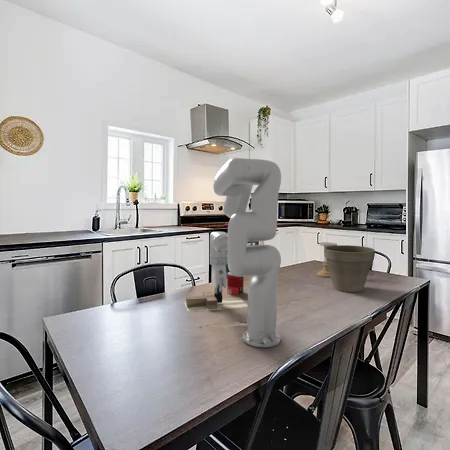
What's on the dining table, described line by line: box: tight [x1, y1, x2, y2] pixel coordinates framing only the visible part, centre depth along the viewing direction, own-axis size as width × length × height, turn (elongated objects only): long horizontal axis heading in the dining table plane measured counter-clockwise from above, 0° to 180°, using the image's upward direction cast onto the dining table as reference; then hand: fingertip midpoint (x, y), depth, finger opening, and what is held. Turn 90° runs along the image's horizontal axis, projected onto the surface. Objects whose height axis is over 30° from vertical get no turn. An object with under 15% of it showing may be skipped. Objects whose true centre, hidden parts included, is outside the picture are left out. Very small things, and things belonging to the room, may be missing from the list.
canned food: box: [226, 271, 245, 296], centre depth 155 cm, size 8×8×11 cm
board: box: [183, 297, 248, 313], centre depth 137 cm, size 14×26×1 cm, turn 104°
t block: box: [185, 292, 217, 309], centre depth 136 cm, size 12×12×4 cm
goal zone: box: [184, 303, 223, 312], centre depth 136 cm, size 14×14×1 cm
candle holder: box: [316, 241, 338, 279], centre depth 196 cm, size 12×12×20 cm
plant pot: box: [323, 244, 376, 293], centre depth 167 cm, size 25×25×22 cm
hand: (218, 302), depth 138 cm, fingers closed
